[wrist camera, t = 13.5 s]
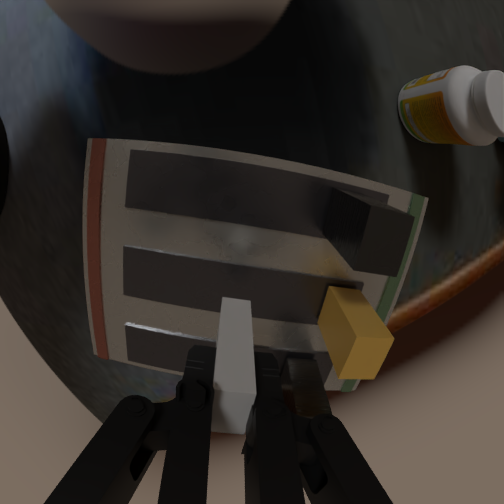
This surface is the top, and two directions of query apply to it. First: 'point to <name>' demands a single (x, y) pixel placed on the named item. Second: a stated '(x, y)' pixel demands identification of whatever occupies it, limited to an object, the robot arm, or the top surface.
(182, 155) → the panel
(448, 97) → the supplement bottle
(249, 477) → the robot arm
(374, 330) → the block
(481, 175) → the top surface
